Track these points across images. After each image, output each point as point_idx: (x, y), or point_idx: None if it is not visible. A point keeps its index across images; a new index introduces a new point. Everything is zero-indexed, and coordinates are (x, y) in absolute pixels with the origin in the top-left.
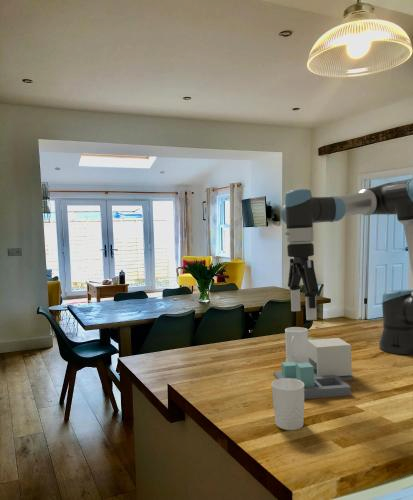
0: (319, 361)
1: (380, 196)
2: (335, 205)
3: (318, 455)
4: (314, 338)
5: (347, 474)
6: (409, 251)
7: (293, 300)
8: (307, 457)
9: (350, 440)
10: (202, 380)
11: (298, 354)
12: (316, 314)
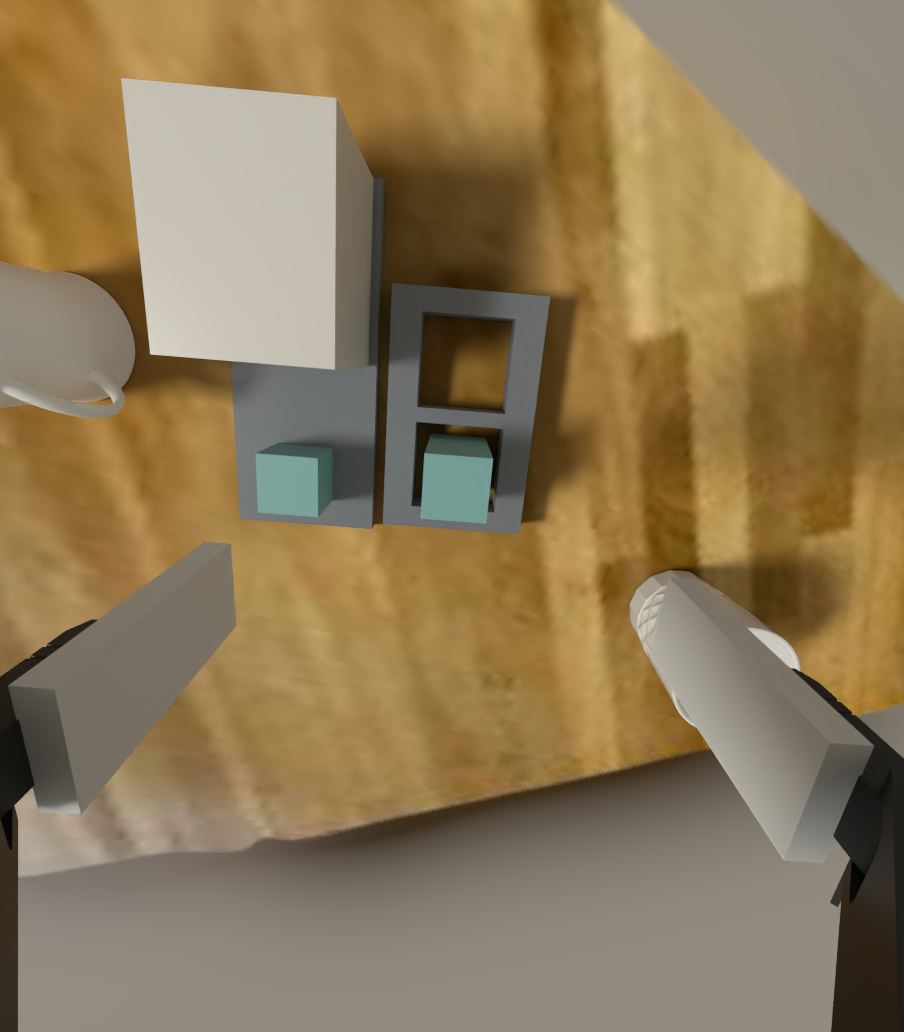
0: (354, 357)
1: None
2: None
3: (849, 600)
4: None
5: None
6: None
7: (174, 678)
8: (843, 627)
9: (830, 488)
10: (257, 758)
11: (92, 355)
12: (717, 602)
